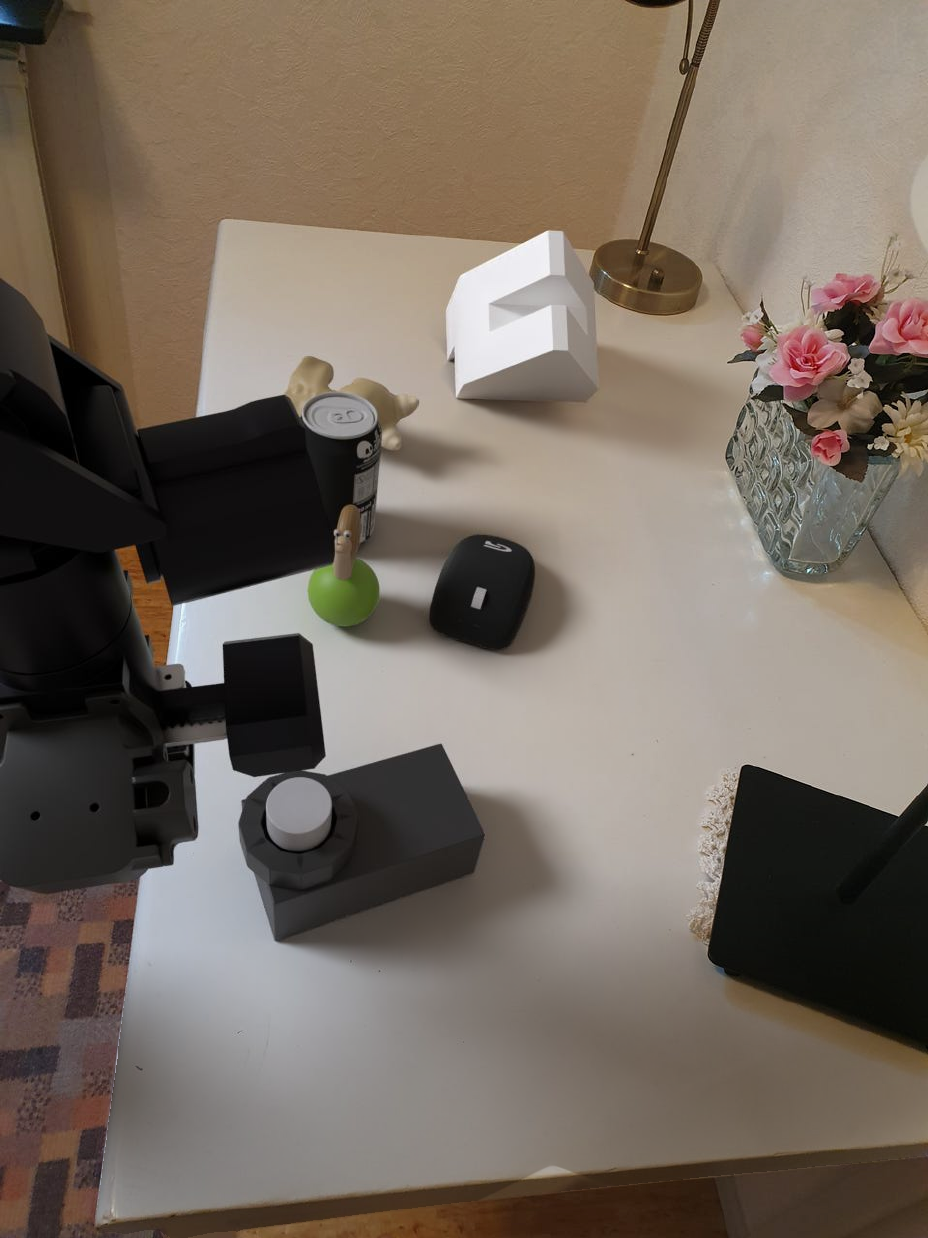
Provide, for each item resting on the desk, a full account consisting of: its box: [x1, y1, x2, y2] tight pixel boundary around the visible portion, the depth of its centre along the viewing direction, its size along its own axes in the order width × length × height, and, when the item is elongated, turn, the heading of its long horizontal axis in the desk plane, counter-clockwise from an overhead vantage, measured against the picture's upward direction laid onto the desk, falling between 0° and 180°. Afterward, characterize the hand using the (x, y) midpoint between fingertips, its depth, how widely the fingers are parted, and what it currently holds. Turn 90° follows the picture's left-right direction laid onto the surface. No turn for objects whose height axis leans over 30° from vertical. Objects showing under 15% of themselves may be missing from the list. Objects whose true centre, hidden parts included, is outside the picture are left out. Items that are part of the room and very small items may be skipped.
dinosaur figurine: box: [282, 355, 420, 451], centre depth 85 cm, size 8×7×12 cm
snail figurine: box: [307, 505, 381, 627], centre depth 68 cm, size 5×6×12 cm
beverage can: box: [300, 392, 382, 547], centre depth 75 cm, size 7×7×12 cm
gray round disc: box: [266, 777, 332, 852], centre depth 52 cm, size 4×4×2 cm
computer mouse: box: [428, 533, 536, 650], centre depth 75 cm, size 8×12×4 cm, turn 164°
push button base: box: [237, 743, 486, 942], centre depth 56 cm, size 14×7×7 cm, turn 114°
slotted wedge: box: [445, 229, 600, 404], centre depth 92 cm, size 14×11×18 cm
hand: (141, 818), depth 46 cm, fingers closed
